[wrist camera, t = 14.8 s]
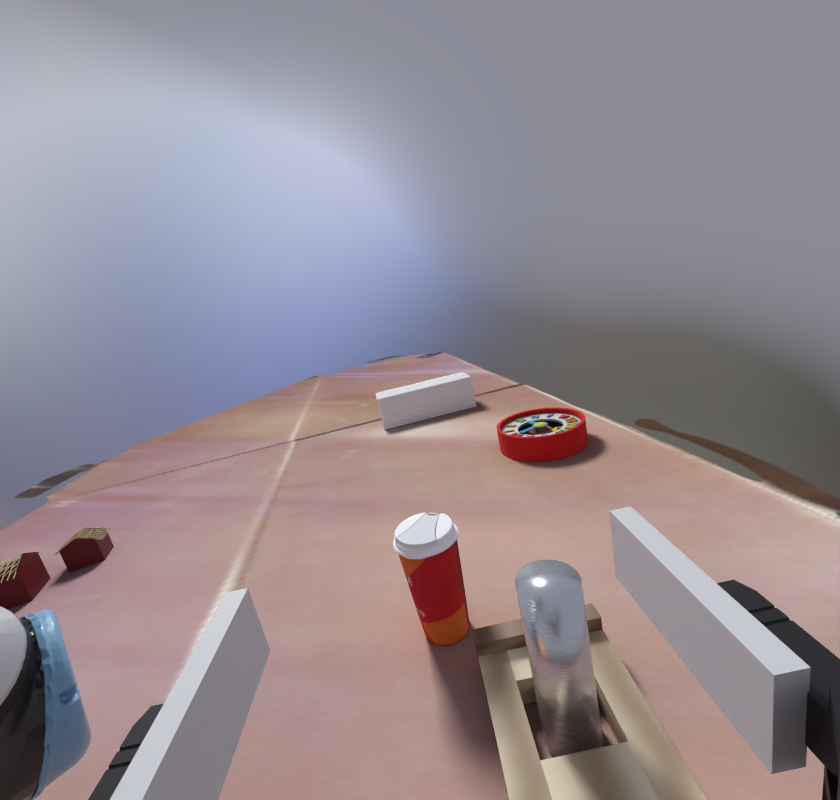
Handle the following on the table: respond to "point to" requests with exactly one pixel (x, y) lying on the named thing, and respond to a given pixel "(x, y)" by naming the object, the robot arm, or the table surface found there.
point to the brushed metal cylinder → (559, 656)
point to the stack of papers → (426, 400)
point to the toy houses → (30, 575)
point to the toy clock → (542, 434)
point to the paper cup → (434, 575)
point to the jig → (592, 769)
